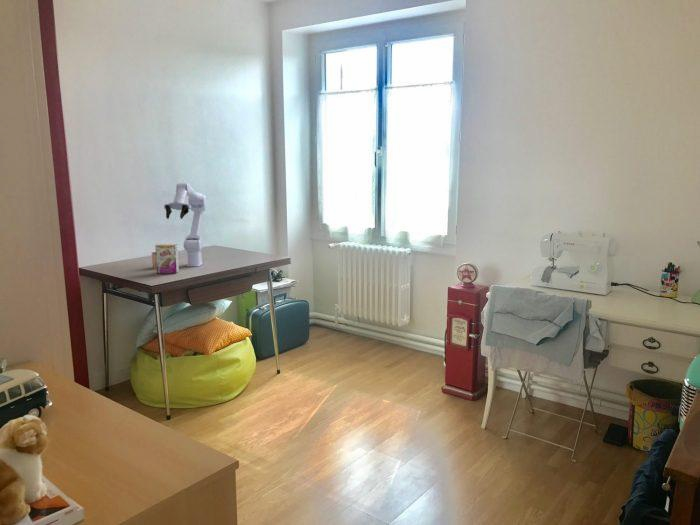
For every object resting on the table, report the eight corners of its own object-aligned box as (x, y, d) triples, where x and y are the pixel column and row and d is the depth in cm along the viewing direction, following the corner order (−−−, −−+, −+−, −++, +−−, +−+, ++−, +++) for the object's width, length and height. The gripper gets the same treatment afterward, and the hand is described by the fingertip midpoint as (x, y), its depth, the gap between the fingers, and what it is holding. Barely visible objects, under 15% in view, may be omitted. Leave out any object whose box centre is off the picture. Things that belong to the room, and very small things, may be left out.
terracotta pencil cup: (155, 266, 335) (154, 251, 333) (166, 266, 335) (165, 251, 333) (150, 268, 328) (149, 253, 326) (162, 268, 328) (161, 253, 326)
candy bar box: (156, 273, 315) (154, 245, 311) (159, 272, 319) (157, 243, 316) (177, 273, 315) (175, 245, 312) (179, 271, 320) (177, 243, 317)
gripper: (164, 194, 309) (158, 212, 301) (190, 194, 309) (185, 212, 300) (168, 203, 315) (162, 221, 307) (193, 203, 314) (188, 221, 306)
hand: (174, 217), depth 304 cm, fingers open, 7 cm apart
